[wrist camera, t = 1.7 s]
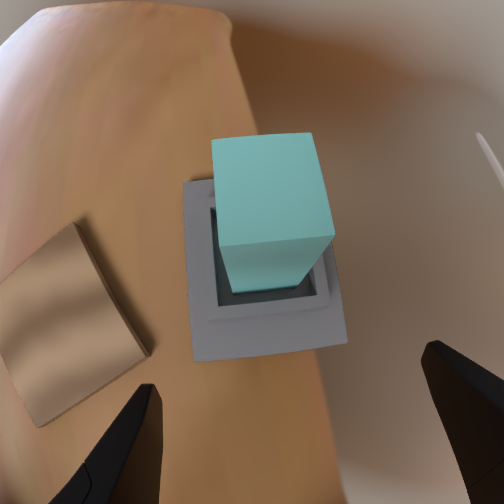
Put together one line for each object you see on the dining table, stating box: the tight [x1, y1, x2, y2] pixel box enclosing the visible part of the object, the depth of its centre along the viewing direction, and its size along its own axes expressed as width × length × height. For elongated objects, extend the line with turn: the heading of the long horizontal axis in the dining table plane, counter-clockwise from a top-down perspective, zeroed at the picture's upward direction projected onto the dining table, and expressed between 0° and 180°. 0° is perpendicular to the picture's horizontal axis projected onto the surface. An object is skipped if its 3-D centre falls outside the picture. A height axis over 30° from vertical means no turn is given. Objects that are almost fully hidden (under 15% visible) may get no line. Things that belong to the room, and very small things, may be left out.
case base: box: [183, 179, 348, 362], centre depth 23 cm, size 14×11×3 cm
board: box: [0, 222, 151, 428], centre depth 22 cm, size 13×13×1 cm
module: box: [212, 133, 336, 295], centre depth 18 cm, size 5×4×11 cm
